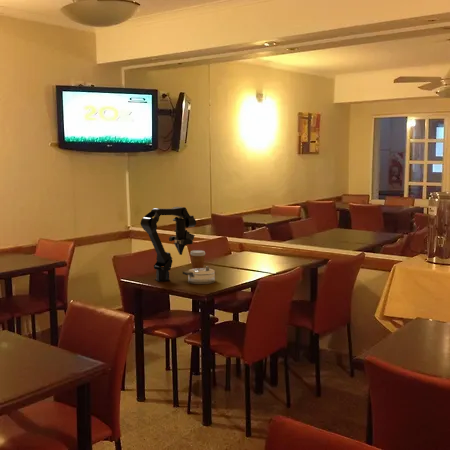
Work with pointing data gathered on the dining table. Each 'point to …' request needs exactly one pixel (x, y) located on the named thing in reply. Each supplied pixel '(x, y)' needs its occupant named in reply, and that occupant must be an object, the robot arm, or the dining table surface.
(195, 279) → the pot
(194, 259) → the disposable coffee cup
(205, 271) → the lid
